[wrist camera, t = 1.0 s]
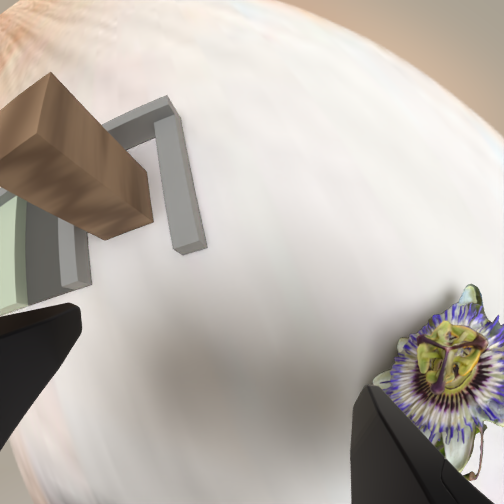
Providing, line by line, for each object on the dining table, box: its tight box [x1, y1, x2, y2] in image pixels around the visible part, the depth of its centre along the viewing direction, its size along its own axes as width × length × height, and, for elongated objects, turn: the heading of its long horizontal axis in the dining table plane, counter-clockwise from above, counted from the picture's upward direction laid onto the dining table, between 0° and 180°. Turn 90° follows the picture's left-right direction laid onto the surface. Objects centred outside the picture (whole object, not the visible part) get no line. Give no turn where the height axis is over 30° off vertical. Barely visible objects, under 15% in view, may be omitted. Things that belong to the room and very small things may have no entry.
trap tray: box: [0, 95, 207, 315], centre depth 25 cm, size 32×13×4 cm, turn 105°
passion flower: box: [373, 284, 504, 481], centre depth 15 cm, size 11×11×12 cm
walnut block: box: [0, 72, 154, 240], centre depth 19 cm, size 5×5×14 cm
